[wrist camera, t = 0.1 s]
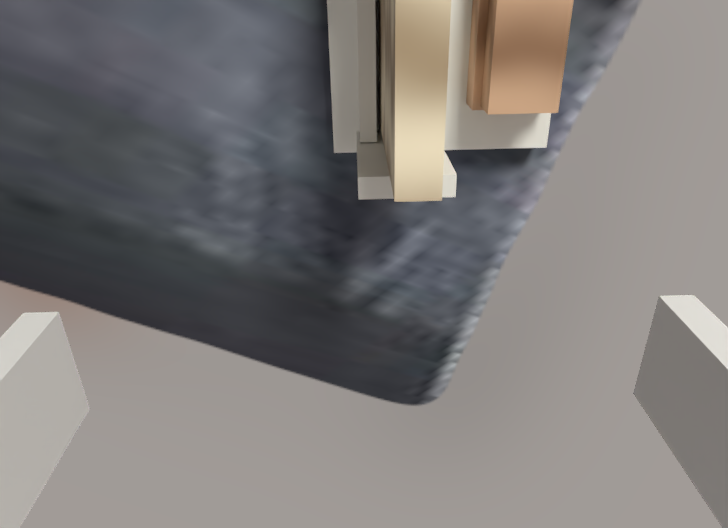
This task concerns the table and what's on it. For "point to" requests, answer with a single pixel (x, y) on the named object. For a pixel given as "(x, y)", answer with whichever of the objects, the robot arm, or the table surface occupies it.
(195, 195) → the table surface
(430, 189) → the birch board
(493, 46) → the offcut upper
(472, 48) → the offcut lower
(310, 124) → the table surface
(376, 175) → the board rack
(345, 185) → the table surface
